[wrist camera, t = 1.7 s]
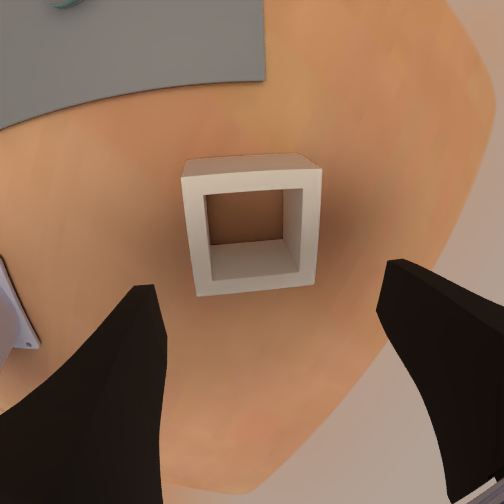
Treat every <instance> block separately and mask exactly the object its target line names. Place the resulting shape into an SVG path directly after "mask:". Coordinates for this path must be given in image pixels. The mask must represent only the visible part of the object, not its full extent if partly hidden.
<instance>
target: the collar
mask: <svg viewBox="0 0 504 504" xmlns="http://www.w3.org/2000/svg"><path fill="white" fill-rule="evenodd" d="M181 184H182V193H183V202H184V210H185V219H186V227H187V234H188V242H189V249H190V256H191V263H192V270H193V277H194V283H195V290H196V296H197V297H201V296H212V295H223V294H233V293H243V292H253V291H262V290H272V289H281V288H289V287H298V286H306V285H314V284H315V273H316V262H317V250H318V236H319V222H320V205H321V186H322V168H320V167H319V166H317V165H316V164H314V163H313V162H311V161H310V160H308V159H307V158H305V157H304V156H302V155H301V154H299V153H283V154H258V155H240V156H225V157H212V158H201V159H190V160H186V163H185V166H184V169H183V172H182V175H181ZM278 189H283V239H278V240H266V241H255V242H243V243H232V244H221V245H210V235H209V225H208V214H207V203H206V195H209V194H220V193H233V192H246V191H261V190H278Z"/></svg>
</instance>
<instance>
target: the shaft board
mask: <svg viewBox="0 0 504 504" xmlns="http://www.w3.org/2000/svg"><path fill="white" fill-rule="evenodd" d="M265 80H266V79H265V47H264V19H263V0H0V130H1V129H4V128H7V127H9V126H12V125H15V124H17V123H20V122H23V121H26V120H29V119H32V118H35V117H38V116H41V115H44V114H48V113H51V112H54V111H58V110H61V109H65V108H68V107H72V106H76V105H80V104H84V103H88V102H92V101H97V100H101V99H106V98H110V97H115V96H121V95H126V94H131V93H137V92H143V91H150V90H156V89H164V88H171V87H180V86H189V85H200V84H213V83H230V82H262V81H265Z"/></svg>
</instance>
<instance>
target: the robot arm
mask: <svg viewBox="0 0 504 504" xmlns="http://www.w3.org/2000/svg"><path fill="white" fill-rule="evenodd" d="M376 312H377V314H378V317H379V319H380V322H381V324H382V326H383V329H384V331H385V333H386V335H387V337H388V339H389V340H390V342H391V344H392V345H393V347H394V349H395V350H396V352H397V354H398V355H399V357H400V359H401V360H402V362H403V364H404V365H405V367H406V368H407V370H408V372H409V374H410V376H411V377H412V379H413V381H414V382H415V384H416V386H417V388H418V390H419V392H420V394H421V396H422V399H423V401H424V404H425V406H426V408H427V411H428V414H429V416H430V419H431V422H432V425H433V428H434V431H435V434H436V437H437V441H438V445H439V449H440V453H441V457H442V461H443V466H444V472H445V479H446V487H447V495H448V498H449V500H450V502H451V504H454V503H455V502H457V501H459V500H460V499H462V498H464V497H465V496H467V495H468V494H470V493H471V492H473V491H475V490H476V489H478V488H479V487H480V486H482V485H483V484H485V483H486V482H488V481H489V480H491V479H492V478H493V477H495V479H496V481H497V483H496V484H494V485H493V486H492V487H490V488H489V489H487V490H486V491H485V492H483V493H482V494H480V495H479V496H477V497H476V498H474V499H473V500H472V501H470V502H468V503H467V504H504V306H501V305H499V304H496V303H494V302H492V301H489V300H487V299H485V298H483V297H481V296H479V295H477V294H475V293H473V292H471V291H469V290H467V289H465V288H463V287H461V286H459V285H457V284H455V283H453V282H451V281H449V280H447V279H445V278H443V277H441V276H440V275H438V274H436V273H434V272H432V271H430V270H428V269H426V268H424V267H422V266H419V265H417V264H415V263H413V262H410V261H408V260H405V259H396V260H388V261H387V265H386V270H385V274H384V279H383V283H382V288H381V292H380V296H379V300H378V304H377V308H376ZM39 347H40V341H39V340H38V338H37V336H36V334H35V332H34V330H33V328H32V327H31V325H30V323H29V321H28V319H27V317H26V315H25V313H24V311H23V308H22V306H21V304H20V302H19V300H18V298H17V295H16V293H15V291H14V289H13V286H12V284H11V282H10V279H9V277H8V274H7V272H6V269H5V267H4V264H3V261H2V259H1V258H0V372H1V370H2V368H3V366H4V364H5V362H6V360H7V358H8V356H9V354H10V352H11V350H12V348H24V349H38V348H39ZM166 369H167V333H166V330H165V326H164V322H163V319H162V315H161V311H160V307H159V303H158V299H157V295H156V291H155V287H154V284H151V285H138V286H134V287H133V288H132V289H131V290H130V291H129V292H128V293H127V294H126V295H125V297H124V298H123V299H122V300H121V301H120V303H119V304H118V305H117V306H116V307H115V308H114V310H113V311H112V312H111V313H110V314H109V315H108V317H107V318H106V319H105V320H104V321H103V323H102V324H101V325H100V326H99V327H98V328H97V330H96V331H95V332H94V333H93V334H92V335H91V336H90V337H89V338H88V339H87V340H86V341H85V342H84V344H83V345H82V346H81V347H80V348H79V349H78V350H77V351H76V352H75V353H74V354H73V355H72V356H71V357H70V358H69V359H68V360H67V361H66V362H65V363H64V364H63V365H62V366H61V367H60V368H59V369H58V370H57V371H56V372H55V373H54V374H53V375H51V376H50V377H49V378H48V379H47V380H46V381H45V382H44V383H42V384H41V385H40V386H39V387H37V388H36V389H35V390H34V391H32V392H31V393H30V394H29V395H27V396H26V397H25V398H24V399H22V400H21V401H20V402H18V403H17V404H16V405H14V406H13V407H11V408H10V409H9V410H7V411H6V412H4V413H3V414H1V415H0V504H163V499H162V488H161V476H160V457H159V431H160V420H161V411H162V402H163V394H164V385H165V377H166Z"/></svg>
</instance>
